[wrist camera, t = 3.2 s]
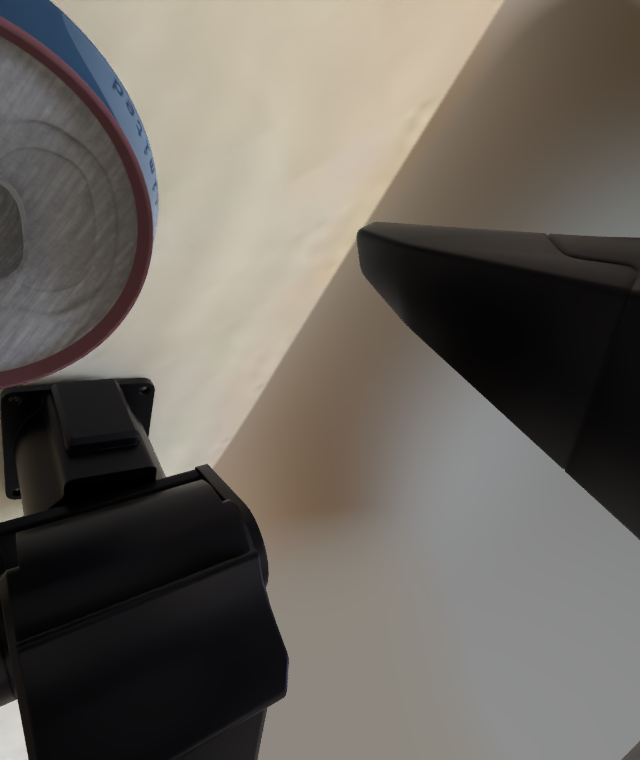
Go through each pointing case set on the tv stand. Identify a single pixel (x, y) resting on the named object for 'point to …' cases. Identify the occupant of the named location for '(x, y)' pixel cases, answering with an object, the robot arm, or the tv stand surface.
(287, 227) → the tv stand surface
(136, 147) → the soda can
